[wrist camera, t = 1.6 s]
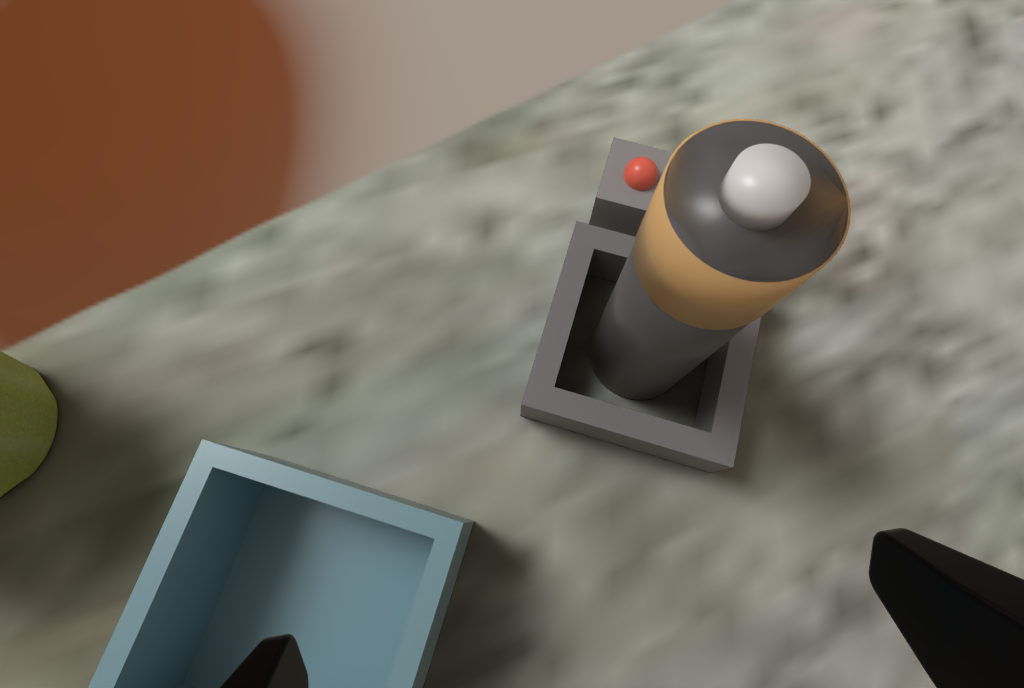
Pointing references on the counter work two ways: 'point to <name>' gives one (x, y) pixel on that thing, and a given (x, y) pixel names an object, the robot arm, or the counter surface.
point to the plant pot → (23, 421)
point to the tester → (604, 256)
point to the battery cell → (718, 250)
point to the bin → (286, 579)
